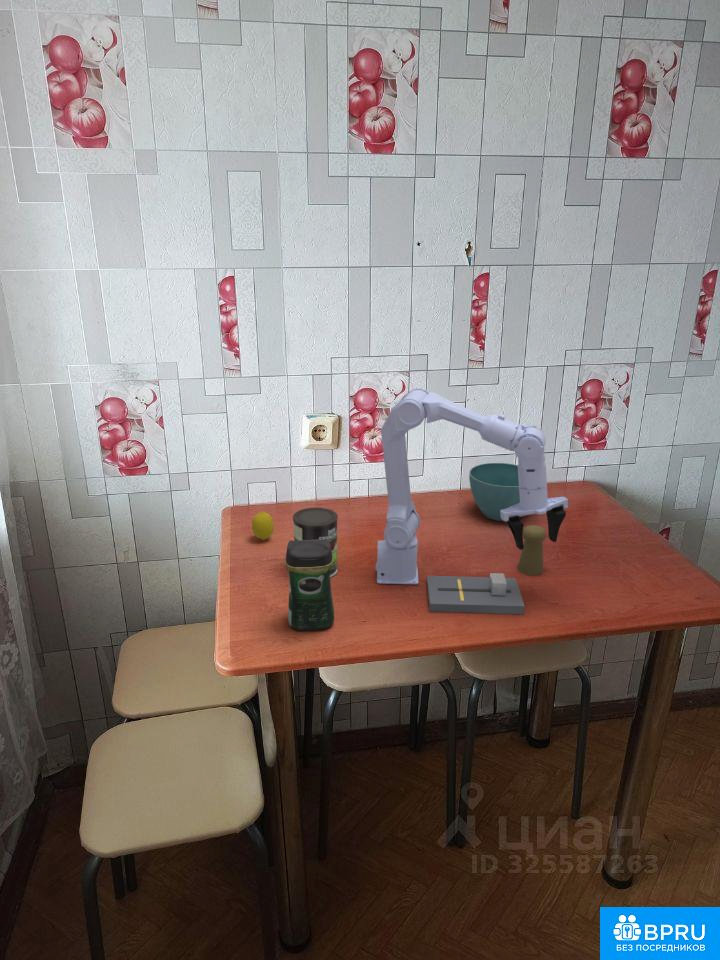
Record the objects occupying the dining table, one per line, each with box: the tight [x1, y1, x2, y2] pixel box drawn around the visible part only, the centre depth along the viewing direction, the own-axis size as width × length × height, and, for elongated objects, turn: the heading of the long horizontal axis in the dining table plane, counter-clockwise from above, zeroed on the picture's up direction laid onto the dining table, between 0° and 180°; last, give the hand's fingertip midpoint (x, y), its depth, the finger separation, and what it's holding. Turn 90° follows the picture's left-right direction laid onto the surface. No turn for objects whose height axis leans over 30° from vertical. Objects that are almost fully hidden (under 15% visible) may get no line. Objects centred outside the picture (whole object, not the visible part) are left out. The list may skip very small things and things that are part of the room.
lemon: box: [251, 510, 275, 541], centre depth 184 cm, size 6×6×8 cm
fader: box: [489, 572, 507, 596], centre depth 158 cm, size 3×4×3 cm
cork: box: [517, 524, 547, 576], centre depth 170 cm, size 6×6×11 cm
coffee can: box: [292, 507, 339, 579], centre depth 168 cm, size 10×10×14 cm
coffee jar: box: [284, 539, 335, 631], centre depth 147 cm, size 10×8×19 cm
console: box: [426, 575, 526, 615], centre depth 159 cm, size 20×12×2 cm, turn 88°
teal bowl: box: [468, 462, 520, 522], centre depth 198 cm, size 18×18×12 cm
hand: (536, 544), depth 155 cm, fingers open, 7 cm apart
